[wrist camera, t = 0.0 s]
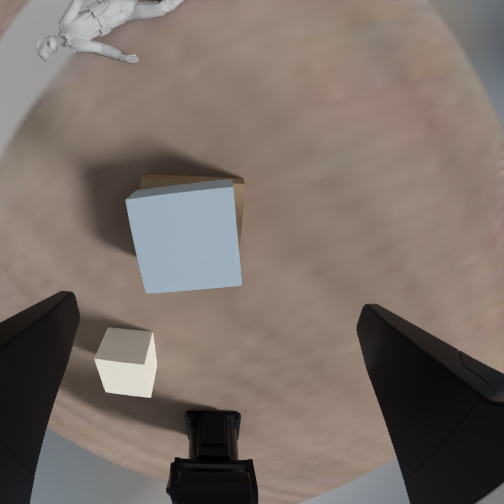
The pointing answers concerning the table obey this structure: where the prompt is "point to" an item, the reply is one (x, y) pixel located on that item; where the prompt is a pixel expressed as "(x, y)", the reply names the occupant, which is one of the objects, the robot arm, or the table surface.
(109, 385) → the cube
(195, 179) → the tower base
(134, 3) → the soldier figure
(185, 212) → the tower mid
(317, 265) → the table surface
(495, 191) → the table surface
